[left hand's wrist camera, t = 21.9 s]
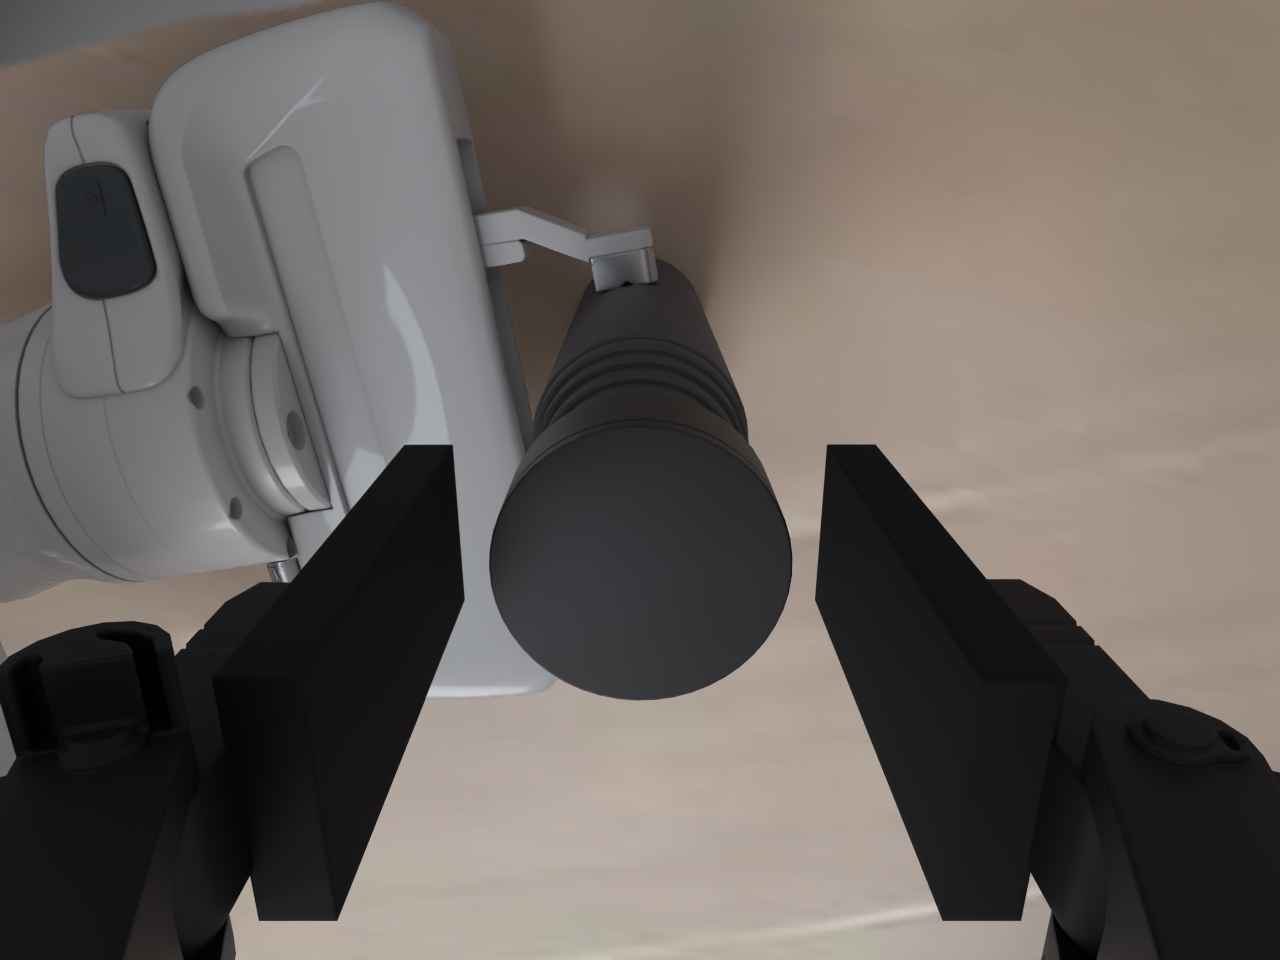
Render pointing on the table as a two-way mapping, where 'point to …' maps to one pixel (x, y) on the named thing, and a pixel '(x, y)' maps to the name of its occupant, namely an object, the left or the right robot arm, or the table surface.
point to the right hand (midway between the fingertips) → (670, 351)
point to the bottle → (641, 352)
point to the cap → (640, 549)
